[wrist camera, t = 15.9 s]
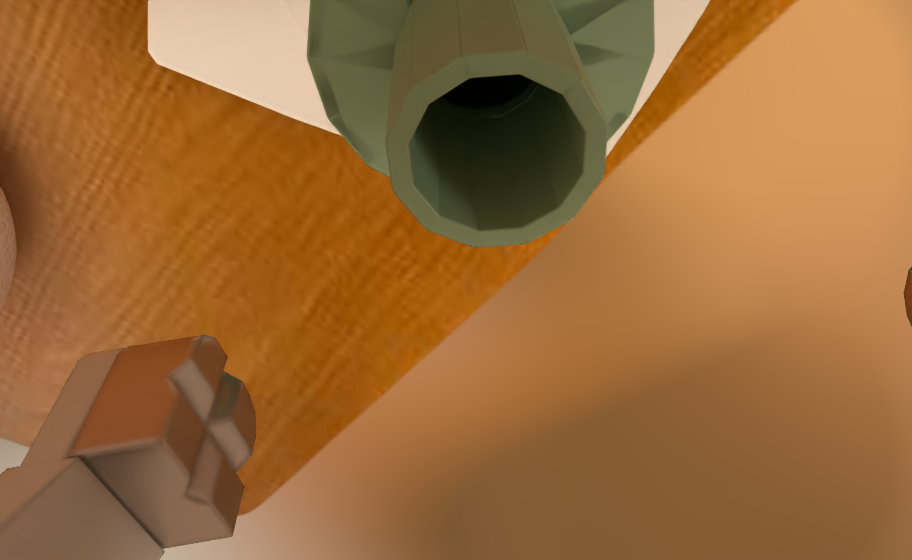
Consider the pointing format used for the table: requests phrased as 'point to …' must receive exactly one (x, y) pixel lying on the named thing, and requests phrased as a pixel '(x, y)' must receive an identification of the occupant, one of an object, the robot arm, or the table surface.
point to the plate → (285, 50)
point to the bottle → (482, 102)
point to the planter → (6, 248)
